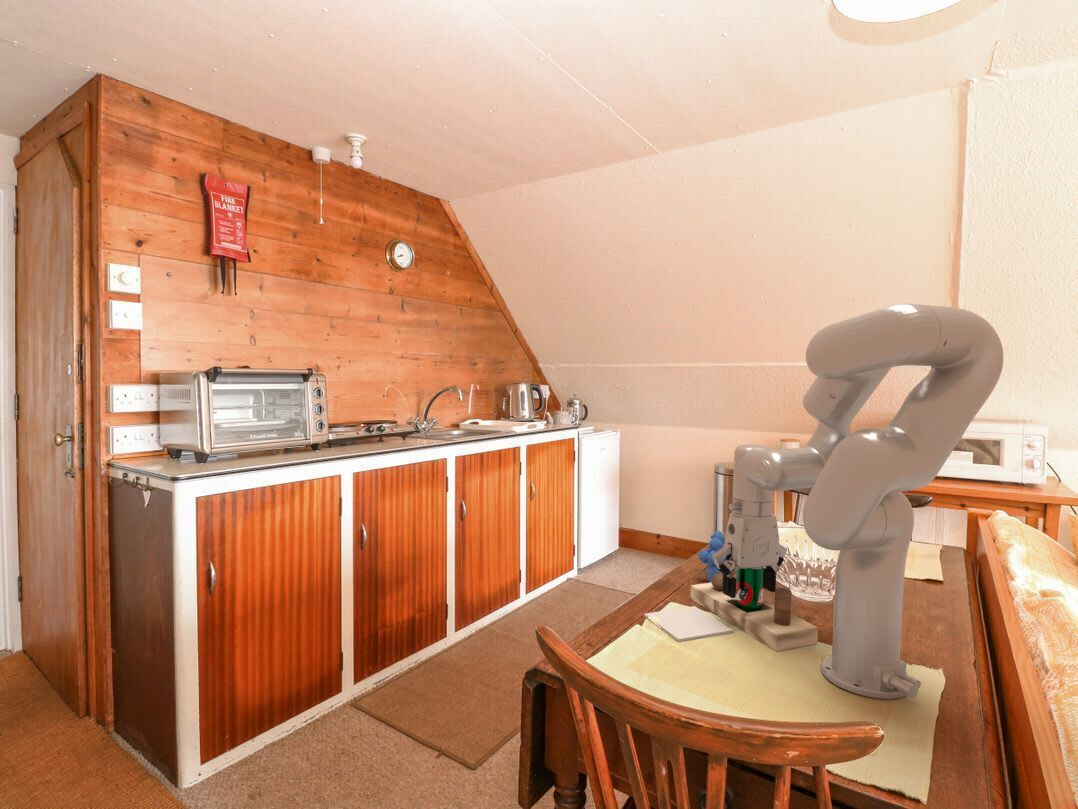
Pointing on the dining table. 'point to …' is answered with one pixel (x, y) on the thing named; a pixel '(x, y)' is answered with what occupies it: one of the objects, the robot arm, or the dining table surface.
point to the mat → (689, 623)
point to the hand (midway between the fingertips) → (749, 592)
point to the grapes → (706, 555)
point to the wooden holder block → (758, 616)
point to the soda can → (749, 589)
